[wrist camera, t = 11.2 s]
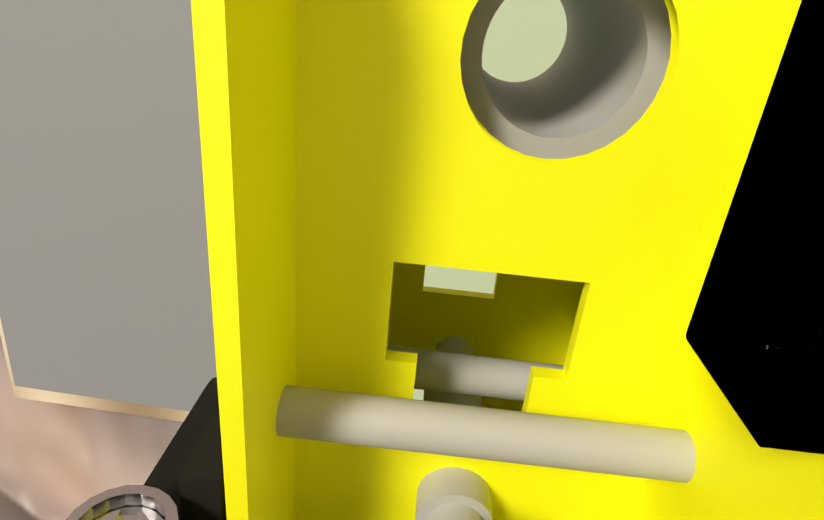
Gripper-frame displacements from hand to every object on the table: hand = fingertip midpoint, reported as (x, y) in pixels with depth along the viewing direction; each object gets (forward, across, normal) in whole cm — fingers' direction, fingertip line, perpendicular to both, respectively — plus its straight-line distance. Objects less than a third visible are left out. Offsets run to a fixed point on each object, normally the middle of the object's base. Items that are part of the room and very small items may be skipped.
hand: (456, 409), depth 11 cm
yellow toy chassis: (+2, 0, -2) cm, 3 cm away
